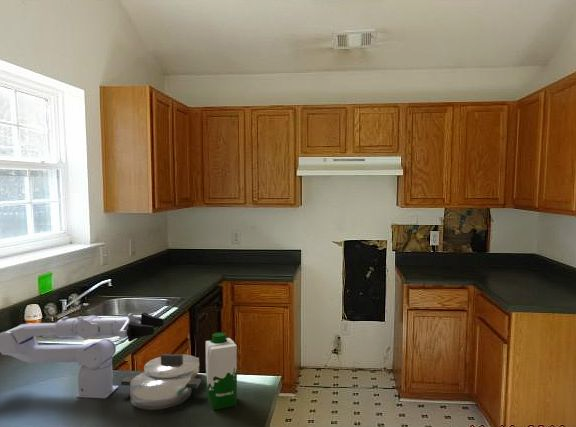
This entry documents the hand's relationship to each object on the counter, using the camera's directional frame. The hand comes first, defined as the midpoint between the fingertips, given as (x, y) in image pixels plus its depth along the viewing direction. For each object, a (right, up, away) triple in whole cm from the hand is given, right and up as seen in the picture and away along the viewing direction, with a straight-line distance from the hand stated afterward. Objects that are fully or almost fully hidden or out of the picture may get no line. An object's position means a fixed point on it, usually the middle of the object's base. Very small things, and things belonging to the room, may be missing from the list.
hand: (158, 326), depth 132 cm
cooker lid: (+2, -16, +9) cm, 18 cm away
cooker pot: (+1, -21, +5) cm, 22 cm away
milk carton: (+20, -22, -5) cm, 30 cm away
